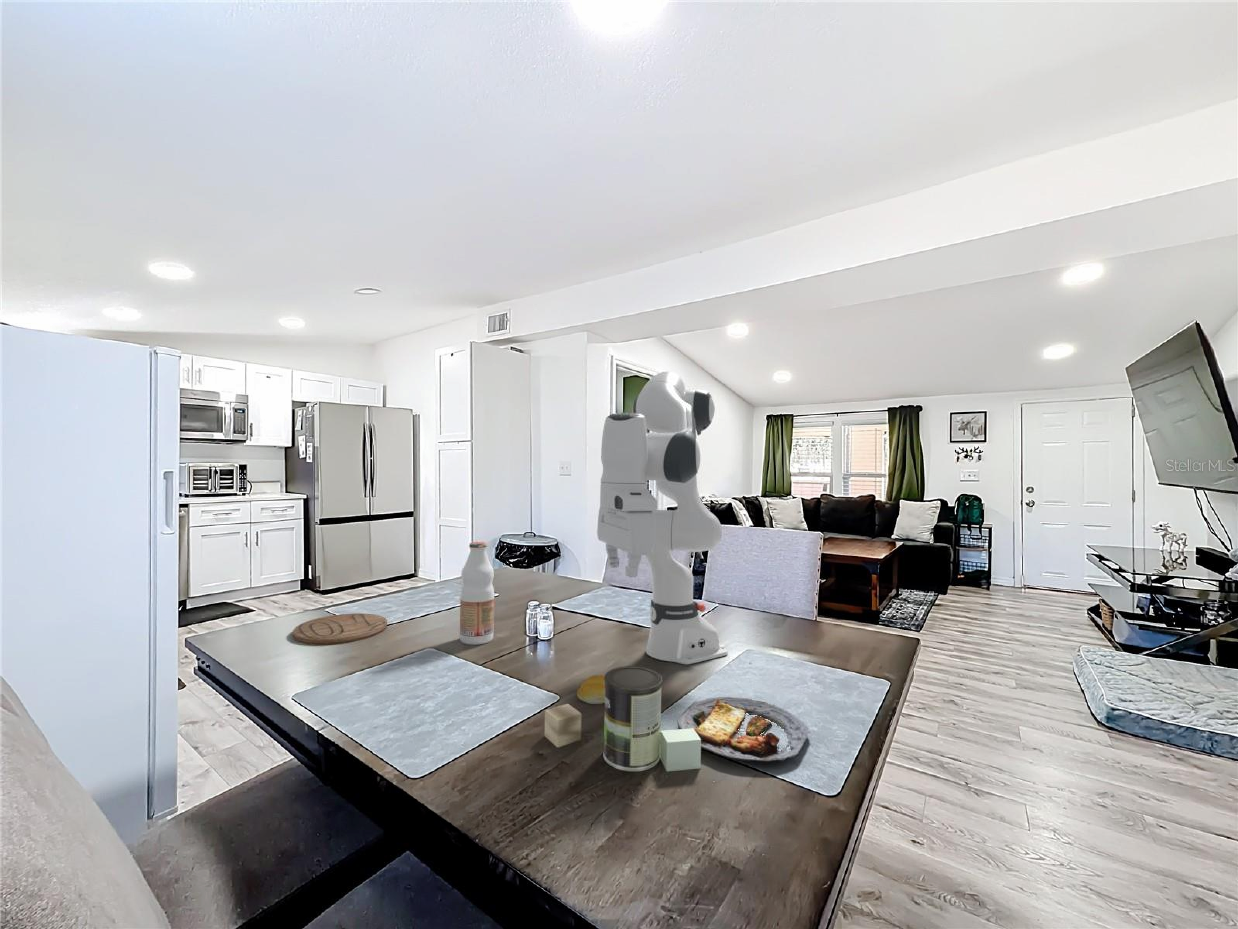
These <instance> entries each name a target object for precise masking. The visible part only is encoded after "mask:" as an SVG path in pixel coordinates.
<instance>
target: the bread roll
mask: <svg viewBox="0 0 1238 929" xmlns="http://www.w3.org/2000/svg"><path fill="white" fill-rule="evenodd" d="M604 677H605V675H601V674H595V675H591V676H588V677H587V678H586V679H583V681H582V683H581V684H580V687H579V688H578V690H577V693H576V695H577V698H578V699H579V700H580V701H582V702H584V703H585V704H589V705H601V704H605V680H604Z"/></svg>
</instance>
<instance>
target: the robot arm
mask: <svg viewBox="0 0 1238 929" xmlns="http://www.w3.org/2000/svg"><path fill="white" fill-rule="evenodd" d="M713 400H714V399H713V396H712V395H711V394H710V392H709V391H706V390H703V389H696V390H692V389H686V388H685V383H684V381H683V379H682V378H681V377H680V376H679V375H678V374H676V373H674V372H671V371H661V372H659V373H657V374H655V375H653V377H651V378H650V379H649V380H648V381H647V382H646V383H645V385H644V386H643V387H642V389H641V391H640V392H639V394H638V395H637V396H636V397H635V399H634V401H633V405H632V412H616V413H612V414H609V415H608V416H606V418H605V420H604V425H603V430H602V437H601V448H600V449H601V450H600V451H601V452H600V453H601V454H600V455H601V456H600V460H601V464H602V473H601V477H600V494H599V495H600V496H599V497H600V499H599V509H598V518H597V530H596V534H597V539H598V541H601V542H602V543H605V550H606V554H607V565H608V567H609V568H614V569H618V568H619V566H620V558H619V555H618V549H619V550H621V551H624V552H626V553H627V555H626V556H627V559H628V561H627V566H625V576H627V577H628V578H637V577H638V574H639V566H640V564H641V560H642V556H644V558H645V559H646V561H647V563H648V565H649V568H650V572H651V583H652V584H651V585H652V586H651V587H652V588H651V589H652V596H651V597H652V599H650V611H649V614H650V630H649V635H648V640H647V644H646V648H645V651H644V652H645V653H646V654H647V656H650V657H651V658H654V659H656V660H659V661H666V662H673V663H677V664H680V665H681V664H682V665H691V664H696V663H699V662H703V661H708V660H712V659H715V658H716V659H717V658H720V657H724V656H727V655H729V653H728V649H727V647H726V646H725V645H724V644H722V643H721V642H720V639H719V632H718V631H717V629H716V628H715V626H713V625H712V624H711V623H710V622H708V620H706V619H705V618H704V617H703V616H701V615H700V614H699V612H700V613H704V612H705V611H706V605H705V604H702V602H701V603H700V602H699V603H698V602H696V601H694V575H693V572H692V570H690V568H688V567H687V566H686V565H685V564H682V563H681V562H679V561H677V560H676V559H675V558H674V556H673V555H672V552H673V551H675V552H690V553H691V552H692V553H697V552H699V553H701V552H706V551H713V550H715V549H716V548H717V547H718V545H719V544H720V542H721V539H722V535H723V529H722V525H721V522H720V520H719V518H718V517H717V516H716V515H715V514H714V513H713V512H711V511H710V510H709V509H708V508H707V506H705V504H704V503H703V501H702V499H701V497H700V494H699V491H698V484H697V483H698V482H697V481H698V480H697V474H698V473H699V472H698V471H699V469H700V466H701V451H700V446H699V443H698V442H697V436H700V435H701V434H702V432H703V431H706V429H708V427H709V426H710V425H711V424H712V423H713V422H712V421H713V419H714V416H715V411H716V409H715V408H716V407H715V403H714V401H713ZM648 431H649V432H648ZM648 481H655V485H656V486H655V487H656V489H657V490H658V491H659V492H660V494H662V495H664V496H665V497H667V498H669V499H670V500H673V501H674V502H675V503H676V506H677V509H674V510H672V509H669V510H668V509H658V500H657V498H656V497H654V495H652V494H651V492H650V490H649V489H648Z"/></svg>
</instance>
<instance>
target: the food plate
mask: <svg viewBox="0 0 1238 929" xmlns="http://www.w3.org/2000/svg"><path fill="white" fill-rule="evenodd" d="M746 713H748V714H749V715H757V716H755V717H753V716H751V717H750V719H749V721H748V722H747V723H746V725H747V726H746V727H744V724H742V722H743V721H745V720H746V715H745V714H746ZM749 715H748V716H749ZM760 716H761V717H760ZM744 719H745V720H744ZM765 719H768V720H770V721H771V722H774V723H776V724H777V726H780V727H781V729H784V732H785V733H786V734H787V735H786V736H787V739H789V740H788V742H787V741H786V747H784V748H783V747H782V750H781V751H779V752H778V751H777V744H778V745H779V743H780V738H779V736H776V734H774V733H772V732H767V734H766V735H764V734H762V736H761V735H760V734H761V733H763V732H764V731H765V730H766V729H767V730H768V728H769V727H770V726H771V727H772V726H773V724H772V723H771V722H769V721H767V720H765ZM676 723H677V728H678V729H690V728H694V730H695V731H696V733H697V734H698V736H699V737H700V739H701V749H704V750H706V751H708V752H711V753H714V754H716V755H719V756H721V757H723V758H725V759H730V760H736V761H741V762H742V761H744V762H750V761H751V762H759V763H764V764H767V763H774V762H776V765H778V763H779V762H784V761H785V760H786V759H787V758H788V759H793V758H794V757H796V756H797V755H798V754H799V753H800V751H801V749H802V747H803V746H804V745H805V742H806V740H807V739H808V735H809V734H811V731H810V728H809V727H808V725H807V724H805V723H804V722H803V721H802V720H800V719H799V718H798V717H796V716H795V715H794V714H792V713H791V712H789V711H787V710H786V709H784V708H782V707H779V706H777V705H775V704H771V703H769V702H766V701H762V700H754V699H752V698H751V699H750V698H747V697H732V696H718V697H715V696H714V697H709V698H705V699H703V700H699V701H697V700H696V701H694V702H693V703H691V704H690V705H689V706H688V707H687V708H686V709H685V710H684V711H683V712H682V713H681V715H679V717H678V719H677V721H676ZM741 726H742V727H741ZM777 726H776V727H777ZM771 727H770V728H771ZM745 728H746V731H745V732H746V735H744V734H741V733H740V732H744V731H740V729H745ZM770 728H769V729H770ZM738 729H739V730H738ZM781 729H780V730H781ZM767 730H766V731H767ZM766 731H765V732H766ZM738 732H739V733H740V734H739V733H738ZM765 732H764V733H765ZM784 732H783V733H784ZM739 736H741V737H739ZM763 736H764V737H763ZM786 736H785V737H786ZM736 739H737V740H736ZM787 743H788V744H787ZM789 746H790V748H789V750H791V751H789V752H788V751H787V747H789Z"/></svg>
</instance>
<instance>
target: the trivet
mask: <svg viewBox="0 0 1238 929" xmlns="http://www.w3.org/2000/svg"><path fill="white" fill-rule="evenodd" d="M387 628H388V620H387V619H386V617H384V616H383V615H379V614H374V613H343V614H334V615H327V616H323V617H318V618H314V619H310V620H308V621H305V622H302V623H301V624H298V625H297V626H296V627H294V629H293V631H292V637H293V640H295V641H296V642H298V643H301V644H305V643H306V645H315V646H318V645H320V646H321V645H323V646H326V645H327V646H328V645H330V646H331V645H341V644H345V643H352V642H357V641H363V640H366V639H370V638H372V637H375V636H377V635H379V634H381V633H383V632H384V631H385V630H387Z"/></svg>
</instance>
